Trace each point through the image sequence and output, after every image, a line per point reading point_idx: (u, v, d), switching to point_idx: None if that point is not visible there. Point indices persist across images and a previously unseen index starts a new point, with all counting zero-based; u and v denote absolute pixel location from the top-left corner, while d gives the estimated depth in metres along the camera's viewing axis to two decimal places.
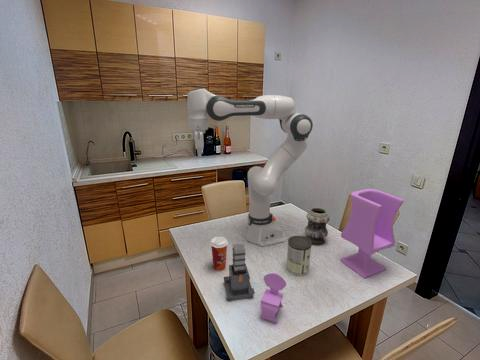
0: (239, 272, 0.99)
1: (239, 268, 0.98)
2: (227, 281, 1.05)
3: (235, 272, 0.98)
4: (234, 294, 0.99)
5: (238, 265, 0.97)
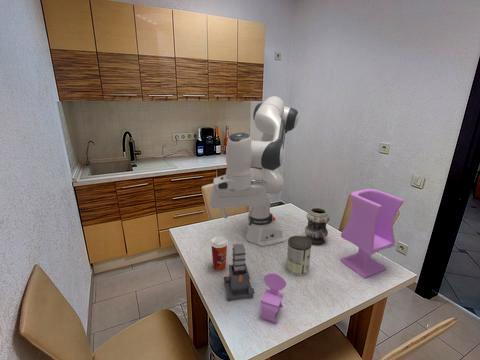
0: (239, 272, 0.99)
1: (239, 268, 0.98)
2: (227, 281, 1.05)
3: (235, 272, 0.98)
4: (234, 294, 0.99)
5: (238, 265, 0.97)
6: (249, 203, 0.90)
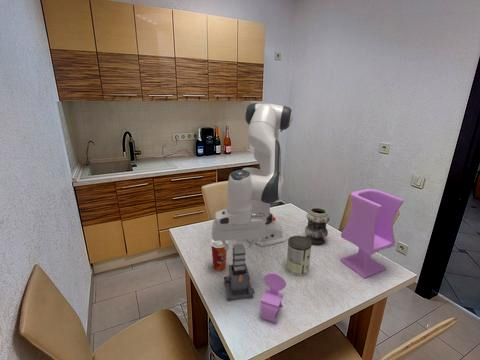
0: (239, 272, 0.99)
1: (239, 268, 0.98)
2: (227, 281, 1.05)
3: (235, 272, 0.98)
4: (234, 294, 0.99)
5: (238, 265, 0.97)
6: (249, 236, 0.94)
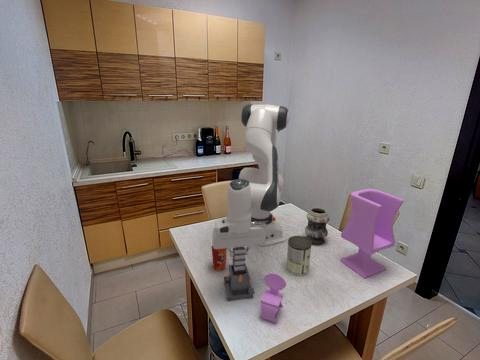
0: (239, 272, 0.99)
1: (239, 268, 0.98)
2: (227, 281, 1.05)
3: (235, 272, 0.98)
4: (234, 294, 0.99)
5: (238, 265, 0.97)
6: (249, 243, 0.96)
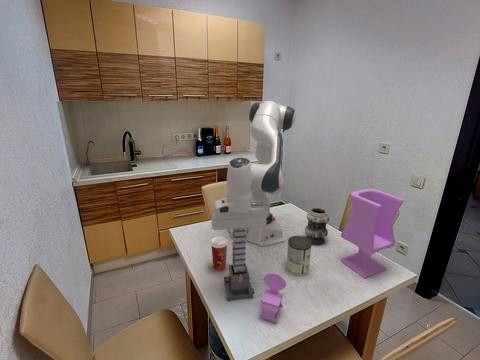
0: (239, 255, 0.96)
1: (239, 252, 0.96)
2: (227, 281, 1.05)
3: (235, 255, 0.96)
4: (234, 294, 0.99)
5: (238, 248, 0.95)
6: (249, 225, 0.93)
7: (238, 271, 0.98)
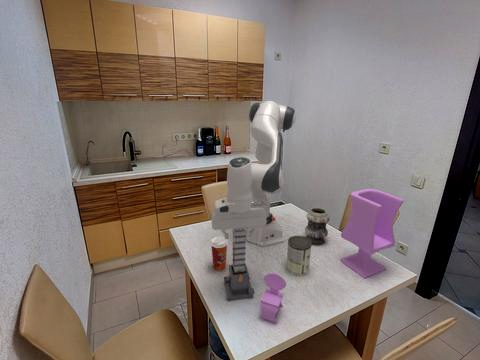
0: (239, 255, 0.96)
1: (239, 251, 0.96)
2: (227, 281, 1.05)
3: (235, 255, 0.96)
4: (234, 294, 0.99)
5: (238, 248, 0.95)
6: (249, 224, 0.93)
7: (238, 271, 0.98)
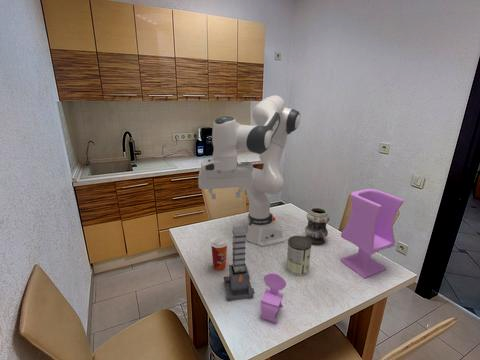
0: (239, 255, 0.96)
1: (239, 251, 0.96)
2: (227, 281, 1.05)
3: (235, 255, 0.96)
4: (234, 294, 0.99)
5: (238, 248, 0.95)
6: (236, 184, 0.94)
7: (238, 271, 0.98)
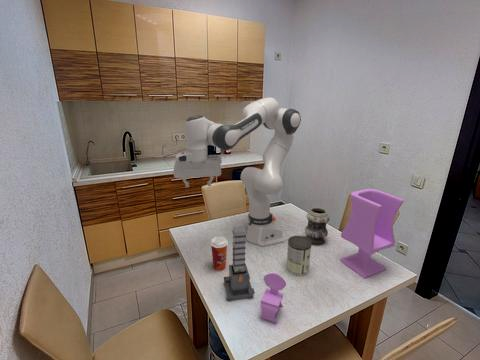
0: (239, 255, 0.96)
1: (239, 251, 0.96)
2: (227, 281, 1.05)
3: (235, 255, 0.96)
4: (234, 294, 0.99)
5: (238, 248, 0.95)
6: (206, 174, 1.09)
7: (238, 271, 0.98)
